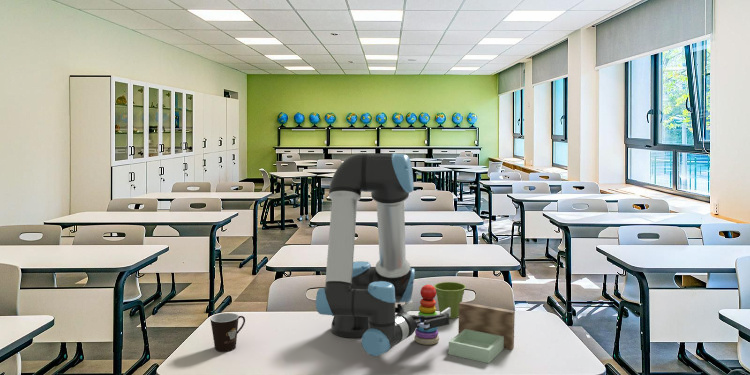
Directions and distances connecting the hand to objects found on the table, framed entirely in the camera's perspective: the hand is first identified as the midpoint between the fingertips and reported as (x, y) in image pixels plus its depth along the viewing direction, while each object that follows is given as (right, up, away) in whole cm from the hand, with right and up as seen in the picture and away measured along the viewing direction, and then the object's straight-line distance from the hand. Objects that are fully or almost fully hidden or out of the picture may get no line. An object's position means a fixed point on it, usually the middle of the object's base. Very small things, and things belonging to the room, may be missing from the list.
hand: (430, 308), depth 186 cm
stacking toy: (-1, -11, -1) cm, 11 cm away
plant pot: (+9, -8, +24) cm, 27 cm away
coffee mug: (-64, -11, -6) cm, 65 cm away
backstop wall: (+17, -11, -3) cm, 21 cm away
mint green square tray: (+13, -12, -9) cm, 20 cm away
